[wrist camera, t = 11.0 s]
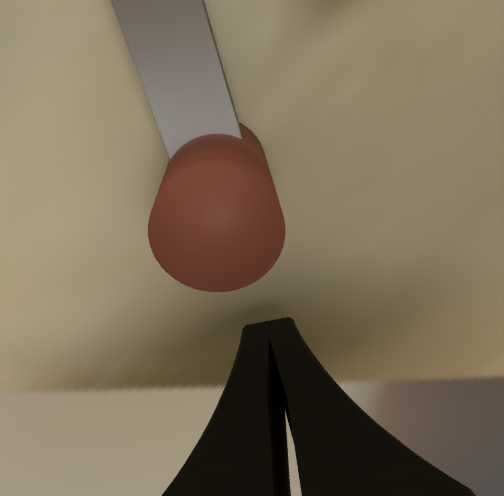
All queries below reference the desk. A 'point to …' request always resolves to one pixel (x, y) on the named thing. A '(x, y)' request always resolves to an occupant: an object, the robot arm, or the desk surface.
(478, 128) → the desk surface
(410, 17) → the desk surface
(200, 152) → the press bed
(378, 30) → the desk surface
